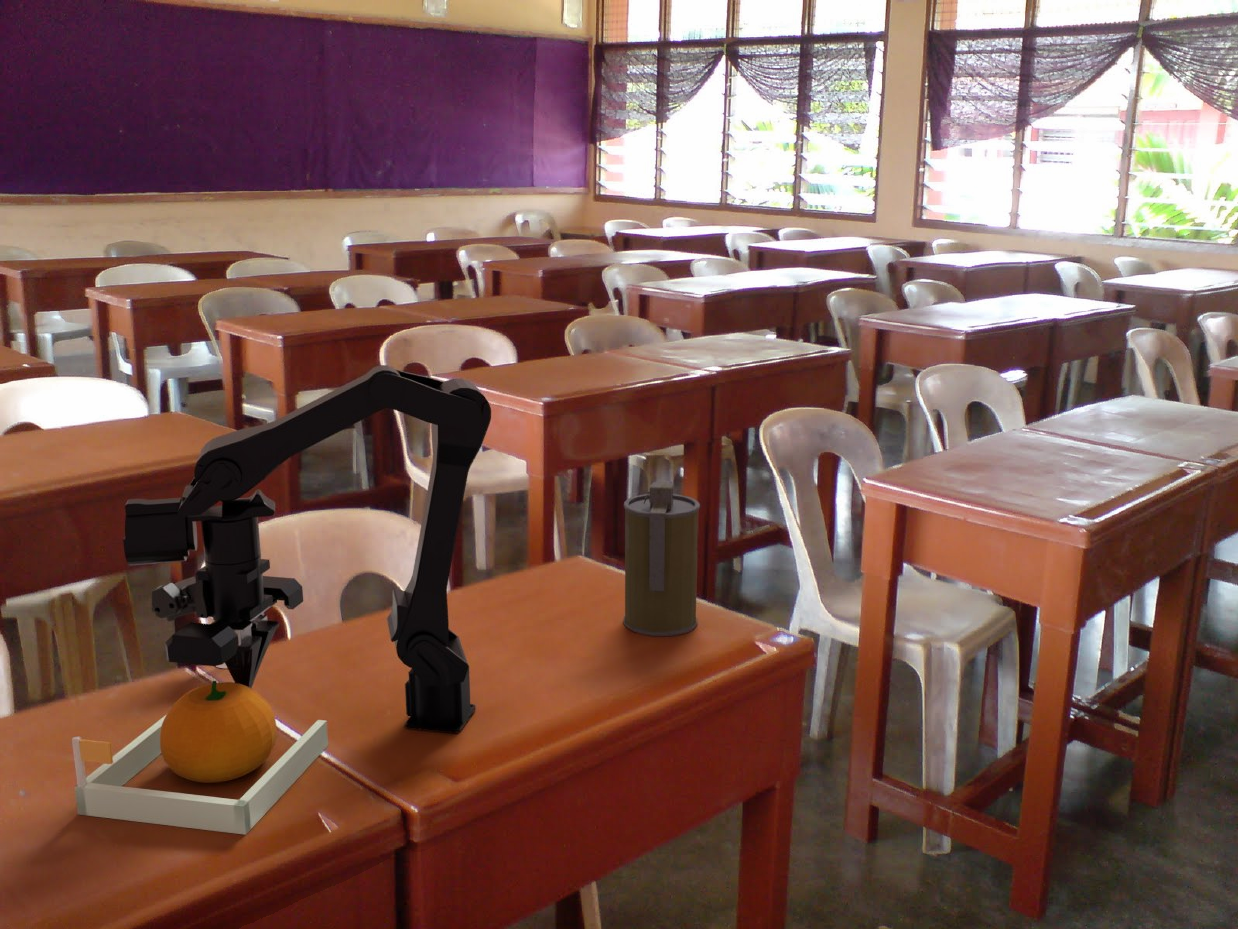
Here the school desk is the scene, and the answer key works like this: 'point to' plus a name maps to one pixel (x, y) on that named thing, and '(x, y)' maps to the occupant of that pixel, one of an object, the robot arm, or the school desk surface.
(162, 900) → the school desk surface
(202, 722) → the fruit
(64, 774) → the school desk surface
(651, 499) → the canister
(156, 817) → the corral
